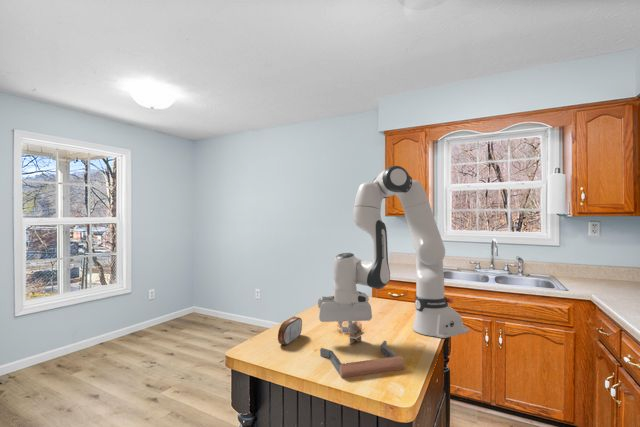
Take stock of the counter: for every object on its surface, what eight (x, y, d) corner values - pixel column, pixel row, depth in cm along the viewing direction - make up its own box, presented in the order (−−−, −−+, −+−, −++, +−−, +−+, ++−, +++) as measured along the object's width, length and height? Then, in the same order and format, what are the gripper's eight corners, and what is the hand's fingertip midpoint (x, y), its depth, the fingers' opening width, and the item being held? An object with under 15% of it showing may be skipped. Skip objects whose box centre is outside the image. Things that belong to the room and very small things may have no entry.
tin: (296, 333, 133) (296, 313, 133) (303, 335, 132) (303, 314, 132) (277, 347, 120) (276, 324, 120) (284, 349, 118) (284, 325, 118)
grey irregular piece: (364, 342, 124) (364, 322, 124) (356, 348, 119) (355, 327, 119) (357, 340, 126) (356, 320, 126) (348, 346, 121) (347, 325, 121)
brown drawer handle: (385, 347, 119) (385, 337, 119) (409, 368, 103) (409, 357, 103) (319, 355, 113) (319, 345, 113) (334, 378, 96) (334, 367, 96)
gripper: (318, 298, 121) (318, 336, 121) (372, 297, 122) (373, 334, 122) (317, 294, 127) (317, 330, 127) (369, 293, 128) (369, 328, 128)
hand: (345, 332), depth 124 cm, fingers closed
